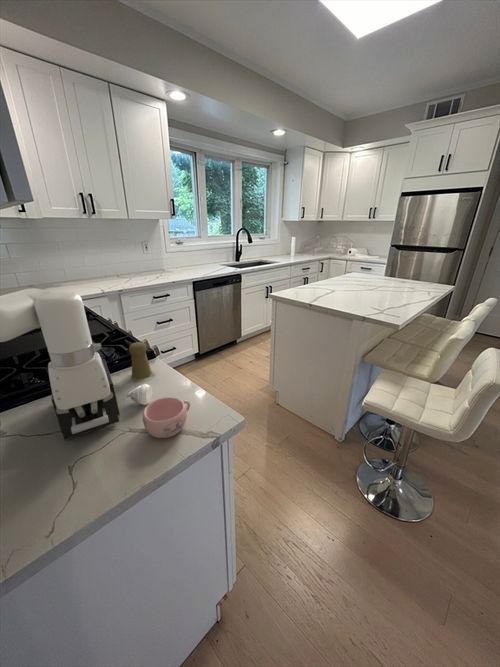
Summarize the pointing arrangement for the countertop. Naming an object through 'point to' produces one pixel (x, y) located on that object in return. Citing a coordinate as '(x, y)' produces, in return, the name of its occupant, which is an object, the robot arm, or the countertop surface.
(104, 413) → the dark grey drawer
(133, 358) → the cork
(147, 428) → the mug
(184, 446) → the countertop surface
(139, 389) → the garlic bulb
